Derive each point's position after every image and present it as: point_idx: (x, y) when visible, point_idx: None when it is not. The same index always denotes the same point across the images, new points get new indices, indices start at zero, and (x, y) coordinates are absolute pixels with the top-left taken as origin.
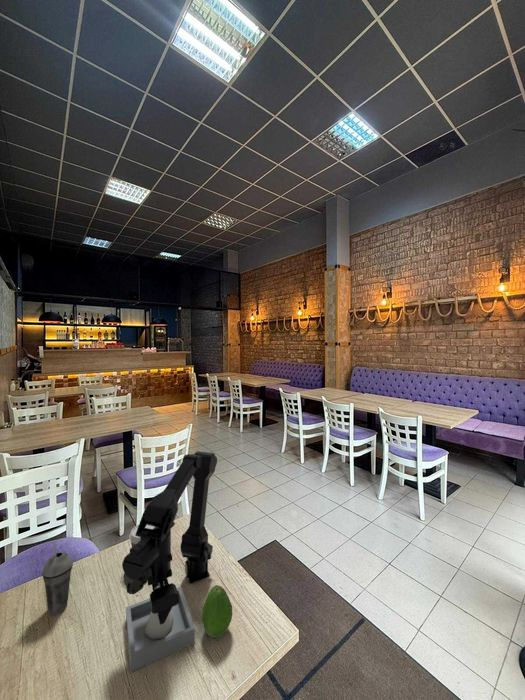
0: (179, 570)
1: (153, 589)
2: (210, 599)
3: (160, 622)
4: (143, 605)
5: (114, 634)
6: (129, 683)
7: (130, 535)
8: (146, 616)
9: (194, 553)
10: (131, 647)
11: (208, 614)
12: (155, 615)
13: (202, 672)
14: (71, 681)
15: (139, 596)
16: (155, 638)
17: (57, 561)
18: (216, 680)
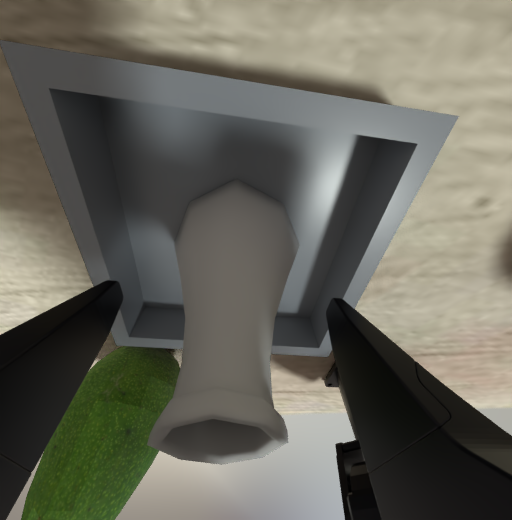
0: (422, 341)
1: (358, 336)
2: (37, 511)
3: (88, 293)
4: (373, 219)
5: (366, 16)
6: (17, 40)
7: None
8: (326, 211)
9: (377, 509)
10: (87, 68)
11: (58, 433)
12: (195, 272)
13: (35, 296)
14: None
15: (465, 209)
16: (184, 217)
17: None
18: (6, 314)
